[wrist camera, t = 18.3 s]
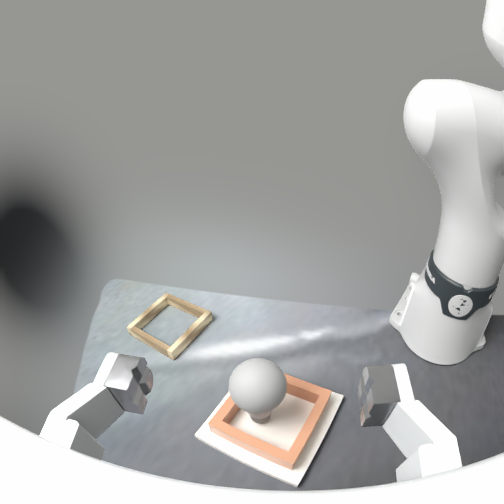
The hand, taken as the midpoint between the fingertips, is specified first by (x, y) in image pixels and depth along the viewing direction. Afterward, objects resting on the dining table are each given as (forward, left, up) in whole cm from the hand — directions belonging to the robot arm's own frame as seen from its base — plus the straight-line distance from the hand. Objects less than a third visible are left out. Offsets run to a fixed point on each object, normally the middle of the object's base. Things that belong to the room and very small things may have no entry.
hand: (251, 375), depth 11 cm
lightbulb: (-10, -6, -27) cm, 30 cm away
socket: (-11, -5, -28) cm, 30 cm away
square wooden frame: (-18, -28, -28) cm, 43 cm away
